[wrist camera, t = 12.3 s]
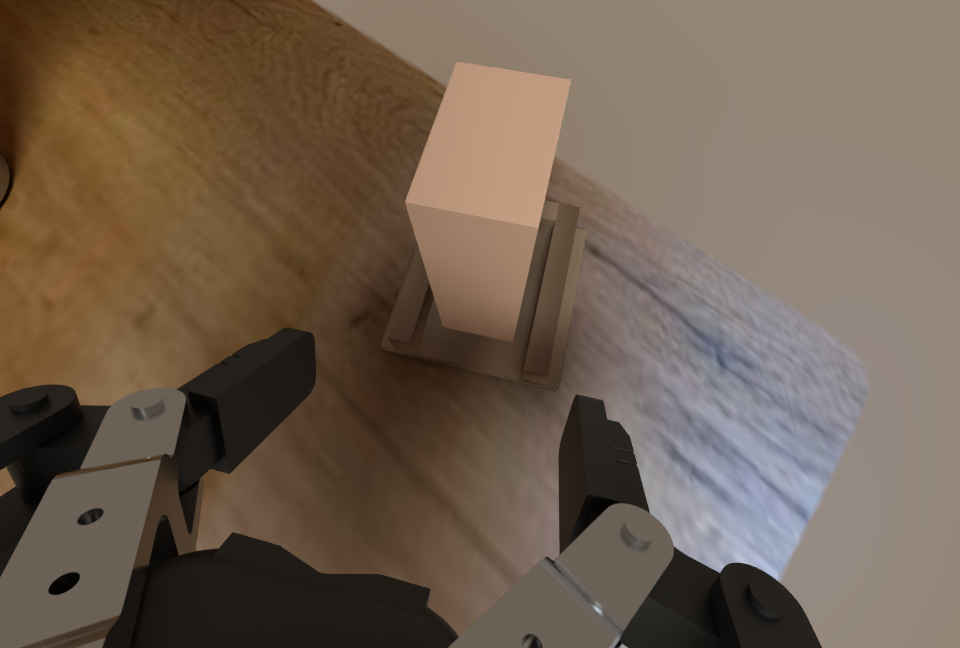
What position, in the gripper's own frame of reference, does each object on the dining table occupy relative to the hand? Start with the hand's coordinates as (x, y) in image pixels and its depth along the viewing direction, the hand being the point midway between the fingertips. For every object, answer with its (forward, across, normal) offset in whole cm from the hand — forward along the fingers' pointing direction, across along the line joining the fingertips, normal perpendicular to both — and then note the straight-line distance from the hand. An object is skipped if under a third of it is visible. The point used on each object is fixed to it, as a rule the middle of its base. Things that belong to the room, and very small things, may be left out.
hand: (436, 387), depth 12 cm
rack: (+13, 0, +1) cm, 13 cm away
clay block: (+12, 0, +1) cm, 12 cm away
